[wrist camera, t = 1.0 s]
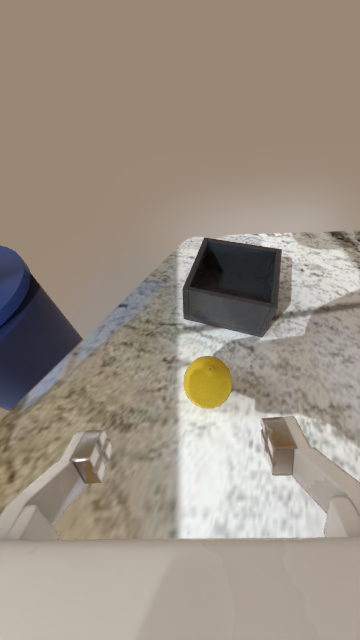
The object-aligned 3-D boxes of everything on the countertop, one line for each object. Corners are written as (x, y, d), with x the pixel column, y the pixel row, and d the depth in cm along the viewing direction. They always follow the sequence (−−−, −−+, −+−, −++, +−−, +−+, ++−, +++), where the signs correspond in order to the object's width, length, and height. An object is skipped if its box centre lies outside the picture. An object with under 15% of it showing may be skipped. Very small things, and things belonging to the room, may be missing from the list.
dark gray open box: (183, 318, 35) (182, 289, 30) (202, 269, 42) (204, 237, 37) (262, 337, 33) (277, 309, 27) (268, 281, 40) (281, 249, 34)
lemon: (194, 422, 26) (196, 406, 20) (178, 381, 29) (175, 355, 23) (234, 404, 27) (248, 383, 21) (214, 367, 30) (221, 338, 24)
